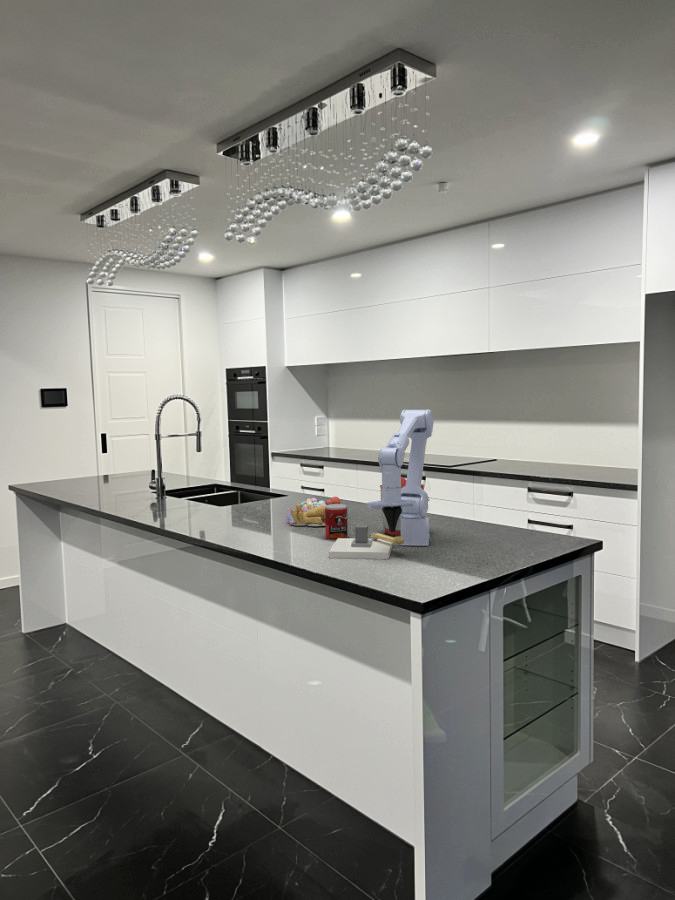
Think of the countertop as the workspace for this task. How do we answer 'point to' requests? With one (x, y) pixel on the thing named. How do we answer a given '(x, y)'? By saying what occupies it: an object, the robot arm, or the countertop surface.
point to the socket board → (360, 549)
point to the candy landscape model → (310, 512)
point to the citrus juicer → (398, 526)
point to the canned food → (336, 521)
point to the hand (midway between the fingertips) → (392, 531)
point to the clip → (387, 538)
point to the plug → (361, 537)
